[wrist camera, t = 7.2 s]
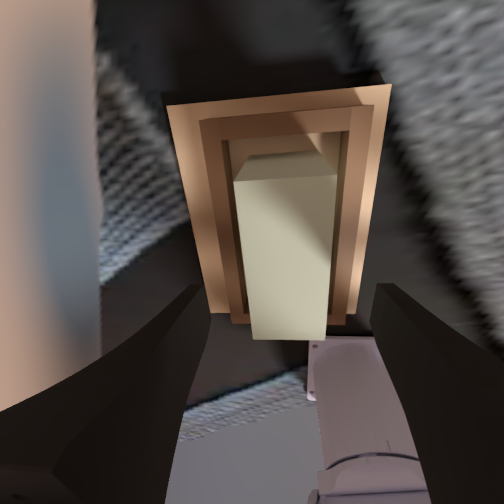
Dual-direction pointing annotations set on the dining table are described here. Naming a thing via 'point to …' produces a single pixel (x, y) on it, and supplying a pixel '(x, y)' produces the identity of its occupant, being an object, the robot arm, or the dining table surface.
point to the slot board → (279, 141)
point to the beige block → (287, 242)
